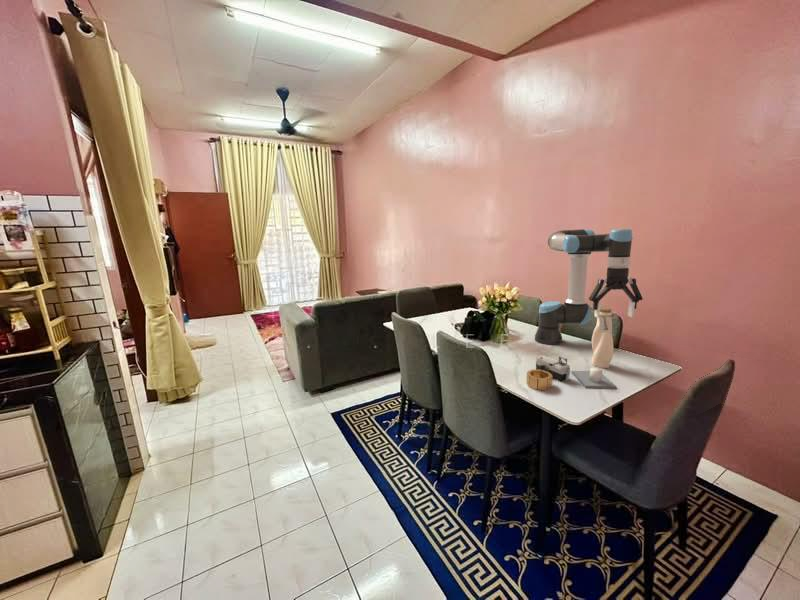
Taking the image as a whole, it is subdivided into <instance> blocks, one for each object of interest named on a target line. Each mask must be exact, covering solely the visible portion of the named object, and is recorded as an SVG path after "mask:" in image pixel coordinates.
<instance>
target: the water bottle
mask: <svg viewBox="0 0 800 600" xmlns="http://www.w3.org/2000/svg"><path fill="white" fill-rule="evenodd" d="M613 317H615V315H614V314H613V313H612V308H609V307H600V315H599V318H597V317H596V326H595V327H594V329H593V331H592V336H591V346H592V352H593V354H592V358H591V362H590V363H591V366H593V367H595V368H599V369H608V368H610V367H611V361H612V359H613V357H614V340H613V338H614V337H613V334H612V333H613V320H612V318H613Z"/></svg>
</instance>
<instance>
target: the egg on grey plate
mask: <svg viewBox="0 0 800 600" xmlns="http://www.w3.org/2000/svg"><path fill="white" fill-rule="evenodd" d="M589 369H590V370H570V374H571V375H572V376H573V377H575V379H576V380H577V381H578V382H579V383H580V384H581V385H582V386H583V387H584V389H617V385H616V384H614V382H612V381H611V380H610V379H609V378H608V377H606V376H605V375H604V374H603V369H602V368H600V367H590V368H589Z"/></svg>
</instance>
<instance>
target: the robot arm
mask: <svg viewBox="0 0 800 600" xmlns="http://www.w3.org/2000/svg"><path fill="white" fill-rule="evenodd" d="M632 241H633V230H632V229H631V228H625V229H623V228H622V229H612V230H610V233H605V234H603V233H602V234H595V232H594V231H593V230H592V229H590V228H589V229H585V228H583V229H582V228H581V229H567V230H566V229H565V230H557V231H556V232H553V233H552V234H551V235H549V237H548V240H547V245H548V247H549V248H550V250H554V251H557V252H564V253H567V255H568V256H569V259H570V260H569V274H568V275H569V276H568V288H567V289H568V291H567V298H566V299H565V300H564V304H563V303H562V302H560V301H557V300H556V301H555V300H554V301H553V300H552V301H545V302H543V303H541V304H540V305H539V310H538V326H537V327H538V328H537V330H536V332H535V334H534V340H535V341H536V342H537V343H540V344H545V345H560V344H562V343H563V336H562V332H561V325H577V326H578V325H585V324H587V323H588V322H589V321H590V319H591V315H592V310H591V305H590V304H588V301H589V302H592V309H593V310H594V317H595V318H596V319H597V318H599V315H600V308H601V302H600V301H601V300H602V299H603V298H604V297H605V296H606V295H607V294H608V293H609V292H610V291H612V290H613V291H614V290H615V291H616V290H622V291H623V292H624V293H625V294H626V295H627V297H628V298H629V299H630V300H628V307H627V308H628V309H627V310H628V311H627V316H628V317H630V318H634V315H635V310H636V309H637V305H638V303H639V302H640V301H642V300H643V297H642V294H641V292H640V289H639V286H638V285H637V279H636V278H633V277H630V278H628V277H629V272H630V268H629V267H630V261H631V251H632V250H631V249H632ZM601 252H602V253H604V252H608V254H607V268H606V279H602V278H598V280H597V284H596V286H595V287H594V289H593V291H592V293H591V294H590V296H589V297H588V301H587V300H586V299H585V298H586V285H587V284H586V283H587V271H588V262H589V261H588V260H589V259H588V258H589V257H590V256H591V255H592V253H601ZM605 284H606V285H605ZM628 284H629V285H630V288H631V290H632V291H631V290H630V288H629V287H628ZM604 285H605V286H604ZM603 286H604V287H603Z"/></svg>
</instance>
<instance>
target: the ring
mask: <svg viewBox="0 0 800 600" xmlns="http://www.w3.org/2000/svg"><path fill="white" fill-rule="evenodd" d="M525 382H526V385H527V387H529V388H530V389H533V390H536V391H549V390H551V389H552V388H553V376H552V375H551V373H549V372H547V371H544V370H536V369H529V370H528V371H526V381H525Z"/></svg>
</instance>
